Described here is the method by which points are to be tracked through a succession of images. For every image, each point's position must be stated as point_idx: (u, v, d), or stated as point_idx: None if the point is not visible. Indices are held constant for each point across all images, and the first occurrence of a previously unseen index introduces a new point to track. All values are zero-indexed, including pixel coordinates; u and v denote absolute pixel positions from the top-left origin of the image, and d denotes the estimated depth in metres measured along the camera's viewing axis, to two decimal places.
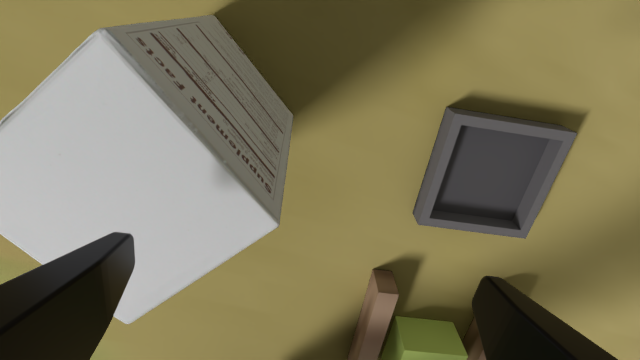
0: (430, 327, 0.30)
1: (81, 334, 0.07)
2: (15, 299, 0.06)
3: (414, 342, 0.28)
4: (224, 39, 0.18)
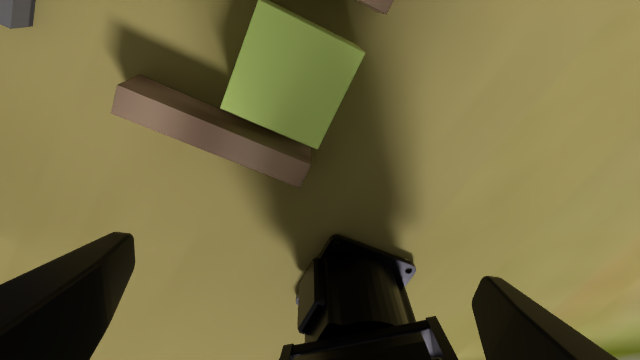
0: None
1: (81, 334, 0.07)
2: (15, 299, 0.06)
3: None
4: None
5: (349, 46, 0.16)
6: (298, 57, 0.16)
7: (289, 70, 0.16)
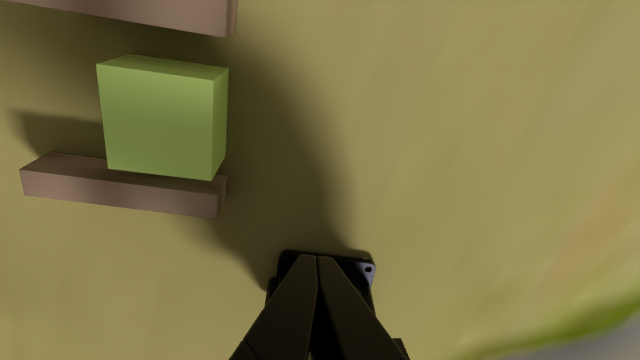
0: None
1: None
2: (288, 326, 0.06)
3: None
4: None
5: (196, 79, 0.16)
6: (154, 103, 0.17)
7: (152, 117, 0.17)
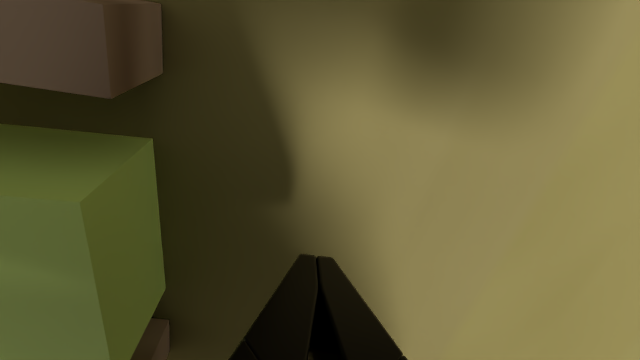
0: None
1: None
2: (288, 326, 0.06)
3: None
4: None
5: (35, 199, 0.06)
6: None
7: None
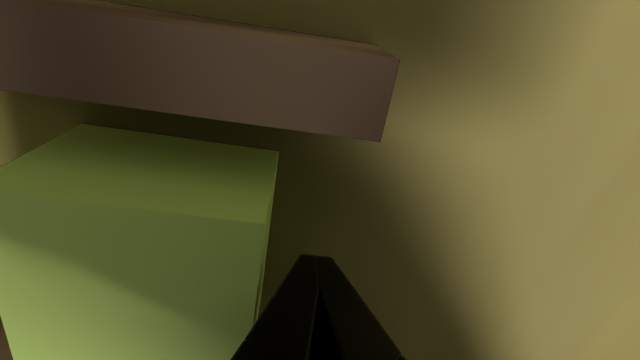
0: None
1: None
2: (289, 326, 0.06)
3: None
4: None
5: (221, 220, 0.07)
6: (119, 268, 0.07)
7: (115, 295, 0.07)
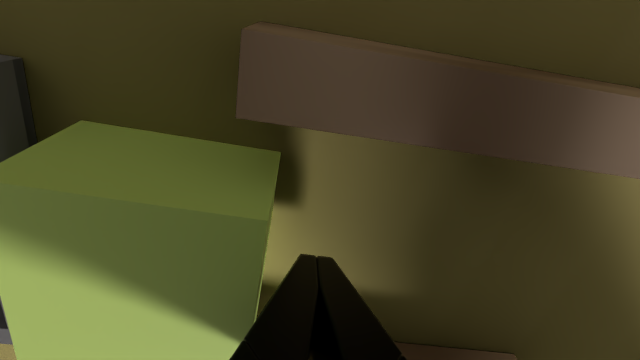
0: None
1: None
2: (289, 326, 0.06)
3: None
4: None
5: (225, 216, 0.07)
6: (122, 262, 0.07)
7: (117, 289, 0.07)
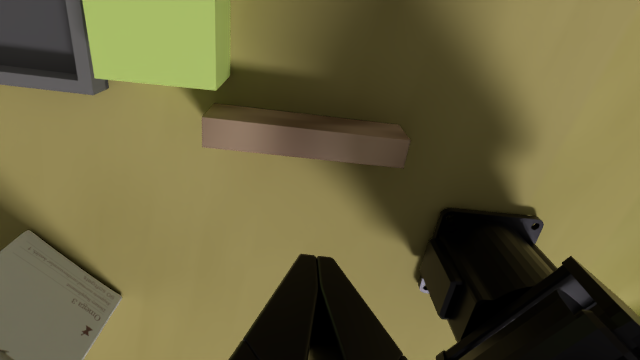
0: None
1: None
2: (288, 326, 0.06)
3: None
4: None
5: None
6: None
7: (143, 8, 0.14)
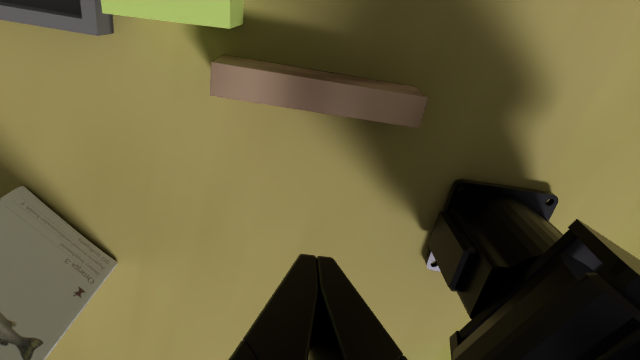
0: None
1: None
2: (288, 326, 0.06)
3: None
4: None
5: None
6: None
7: None
